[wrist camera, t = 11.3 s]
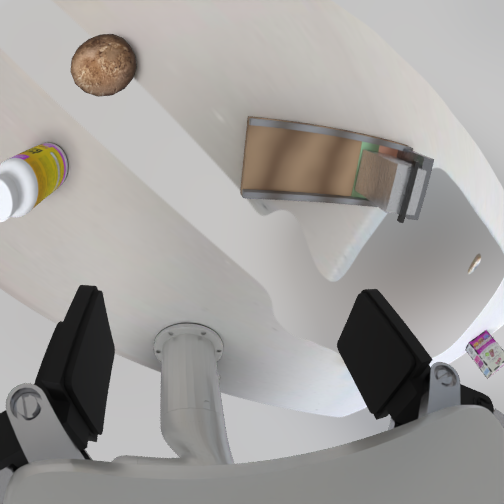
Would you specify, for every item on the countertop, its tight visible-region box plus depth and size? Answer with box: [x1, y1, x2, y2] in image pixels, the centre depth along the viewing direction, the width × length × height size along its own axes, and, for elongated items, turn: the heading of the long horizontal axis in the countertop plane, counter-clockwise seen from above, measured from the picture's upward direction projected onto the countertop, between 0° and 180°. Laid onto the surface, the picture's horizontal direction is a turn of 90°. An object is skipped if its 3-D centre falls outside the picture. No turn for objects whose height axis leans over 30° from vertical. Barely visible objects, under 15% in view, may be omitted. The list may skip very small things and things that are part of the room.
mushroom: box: [71, 34, 136, 96], centre depth 23 cm, size 8×8×6 cm
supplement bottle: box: [0, 143, 68, 222], centre depth 24 cm, size 7×7×13 cm
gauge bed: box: [240, 117, 413, 207], centre depth 36 cm, size 24×10×2 cm, turn 84°
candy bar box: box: [466, 330, 504, 379], centre depth 72 cm, size 11×5×16 cm, turn 104°
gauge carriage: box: [355, 149, 427, 223], centre depth 33 cm, size 5×8×9 cm, turn 174°
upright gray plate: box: [397, 148, 434, 220], centre depth 36 cm, size 2×9×6 cm, turn 174°
